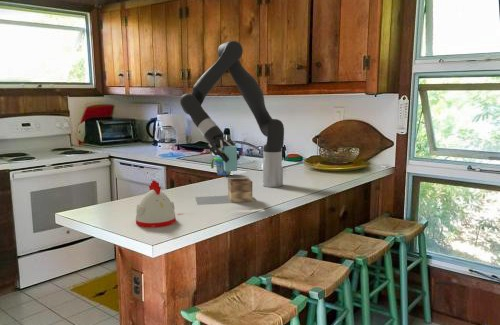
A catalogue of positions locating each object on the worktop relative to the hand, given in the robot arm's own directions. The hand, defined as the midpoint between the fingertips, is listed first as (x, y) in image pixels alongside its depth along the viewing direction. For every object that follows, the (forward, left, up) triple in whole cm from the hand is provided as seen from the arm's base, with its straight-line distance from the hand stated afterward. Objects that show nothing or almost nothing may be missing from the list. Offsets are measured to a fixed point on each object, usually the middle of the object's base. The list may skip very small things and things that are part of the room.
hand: (233, 159), depth 182 cm
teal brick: (+1, -1, -4) cm, 5 cm away
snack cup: (-4, -65, -18) cm, 68 cm away
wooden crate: (-3, 0, -18) cm, 18 cm away
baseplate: (+4, -1, -18) cm, 18 cm away
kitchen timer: (+32, +24, -18) cm, 44 cm away
